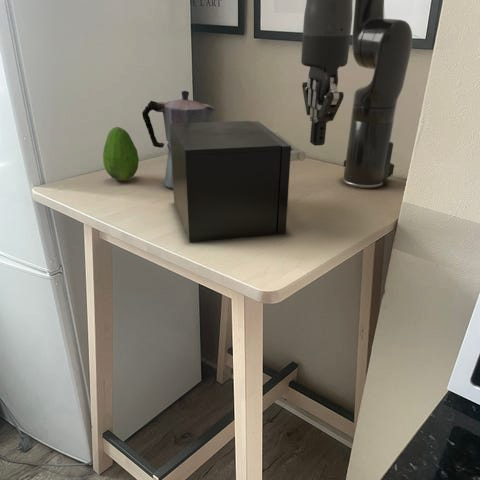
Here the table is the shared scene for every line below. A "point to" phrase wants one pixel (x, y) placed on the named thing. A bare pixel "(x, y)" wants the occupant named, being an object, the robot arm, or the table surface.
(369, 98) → the robot arm
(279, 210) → the oven door
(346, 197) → the table surface
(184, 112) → the moka pot
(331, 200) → the table surface
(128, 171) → the avocado
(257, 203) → the oven
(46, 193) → the table surface
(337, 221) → the table surface
